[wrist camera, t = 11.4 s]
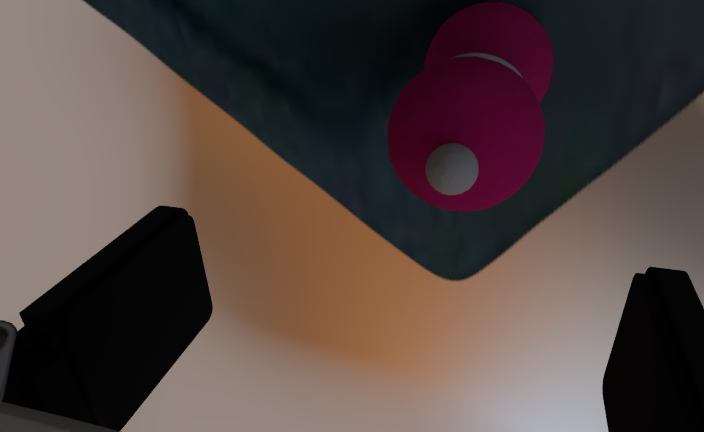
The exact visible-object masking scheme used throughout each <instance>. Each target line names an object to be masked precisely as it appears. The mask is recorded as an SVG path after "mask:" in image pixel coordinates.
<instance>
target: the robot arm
mask: <svg viewBox="0 0 704 432" xmlns="http://www.w3.org/2000/svg"><path fill="white" fill-rule="evenodd" d="M212 308H213V307H212V301H211V296H210V292H209V287H208V282H207V278H206V274H205V269H204V264H203V260H202V255H201V251H200V246H199V242H198V237H197V232H196V228H195V224H194V220H193V218H192V217H191V216H189V215H188V213H187V211H186V210H185V209H183V208H177V207H169V206H158V207H156V208H155V209H154V210H152V211H151V212H150V213H148V214H147V215H146V216H144V217H143V218H142V219H140V220H139V221H138V222H137V223H135V224H134V225H133V226H132V227H130V228H129V229H128V230H126V231H125V232H124V233H122V234H121V235H120V236H118V237H117V238H116V239H115V240H113V241H112V242H111V243H109V244H108V245H107V246H105V247H104V248H103V249H102V250H100V251H99V252H98V253H97V254H95V255H94V256H92V257H91V258H90V259H89V260H87V261H86V262H85V263H83V264H82V265H81V266H80V267H78V268H77V269H76V270H74V271H73V272H72V273H71V274H69V275H68V276H67V277H66V278H64V279H63V280H62V281H60V282H59V283H57V284H56V285H55V286H54V287H52V288H51V289H50V290H48V291H47V292H46V293H45V294H43V295H42V296H41V297H39V298H38V299H37V300H35V301H34V302H33V303H32V304H30V305H29V306H28V307H26V308H25V309H24V310H22V311H21V312H20V313H19V314H20V316H21V318H22V321H23V323H24V325H25V326H24V327H23V328H21V329H20V330H19V331H17V329H16V327H15V326H14V325H13V324H12V323H10V322H6V321H1V320H0V432H120V430H121V429H122V428H123V427H124V426H125V425H126V423H127V422H128V421H129V419H130V418H131V417H132V416H133V414H134V413H135V412H136V411H137V410H138V408H139V407H140V406H141V404H142V403H143V402H144V401H145V400H146V398H147V397H148V396H149V394H150V393H151V392H152V391H153V389H154V388H155V387H156V386H157V384H158V383H159V382H160V381H161V379H162V378H163V377H164V376H165V374H166V373H167V372H168V371H169V369H170V368H171V367H172V366H173V364H174V363H175V362H176V361H177V359H178V358H179V357H180V356H181V354H182V353H183V352H184V351H185V349H186V348H187V347H188V345H189V344H190V343H191V342H192V341H193V339H194V338H195V337H196V336H197V334H198V333H199V332H200V331H201V329H202V328H203V327H204V326H205V324H206V323H207V322H208V320H209V319H210V317H211V314H212ZM603 400H604V406H605V412H606V418H607V424H608V431H609V432H704V309H703V306H702V304H701V302H700V300H699V297H698V295H697V293H696V291H695V289H694V286H693V284H692V282H691V280H690V278H689V276H688V274H687V273H686V272H685V271H680V270H671V269H664V268H656V267H649V268H648V269H647V271H646V273H645V274H641V273H636V274H635V275H634V277H633V280H632V283H631V287H630V290H629V293H628V297H627V300H626V304H625V307H624V310H623V314H622V317H621V320H620V323H619V327H618V330H617V334H616V337H615V340H614V344H613V347H612V351H611V354H610V357H609V360H608V364H607V367H606V370H605V374H604V378H603Z"/></svg>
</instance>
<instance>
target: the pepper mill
mask: <svg viewBox="0 0 704 432" xmlns="http://www.w3.org/2000/svg"><path fill="white" fill-rule="evenodd" d="M552 70H553V52H552V47H551V43H550V40H549V38H548V35H547V33H546V32H545V30H544V28H543V27H542V25H541V24H540V23H539V22H538V21H537V19H535V18H534V17H533V16H532V15H531V14H530V13H528V12H527V11H525V10H523V9H521V8H520V7H517V6H514V5H511V4H508V3H502V2H484V3H478V4H475V5H472V6H469V7H466V8H464V9H462V10H460V11H459V12H457V13H456V14H454V15H453V16H452V17H450V18H449V19H448V20H447V21H446V22H445V23H444V24H443V25H442V26H441V27H440V28H439V30H438V31H437V33H436V34H435V36H434V37H433V40H432V42H431V44H430V46H429V49H428V51H427V55H426V59H425V64H424V70H423V71H422V72H420V73H419V74H418V75H417V76H416V77H414V78H413V79H412V80H411V81H410V82H409V83H408V84H407V85H406V86H405V88H404V89H403V90H402V92H401V93H400V94H399V96H398V98H397V100H396V102H395V104H394V106H393V110H392V113H391V116H390V119H389V124H388V150H389V155H390V159H391V162H392V165H393V167H394V169H395V171H396V173H397V175H398V177H399V178H400V179H401V181H402V182H403V183H404V185H405V186H406V187H407V188H408V189H409V190H410V191H411V192H412V193H413V194H415V195H416V196H417V197H419V198H420V199H421V200H423V201H425V202H427V203H429V204H431V205H433V206H436V207H439V208H442V209H445V210H452V211H477V210H482V209H487V208H490V207H492V206H495V205H497V204H499V203H501V202H503V201H504V200H506V199H507V198H509V197H510V196H512V195H513V194H514V193H516V192H517V191H518V190H519V189H520V188H521V187H522V186H523V185H524V184H525V183H526V181H527V180H528V179H529V177H530V176H531V175H532V173H533V172H534V170H535V168H536V166H537V163H538V161H539V159H540V157H541V153H542V149H543V144H544V127H545V123H544V118H543V114H542V109H541V107H540V104H539V103H540V102H541V100H542V98H543V97H544V95H545V93H546V91H547V88H548V85H549V83H550V79H551V76H552Z"/></svg>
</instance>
